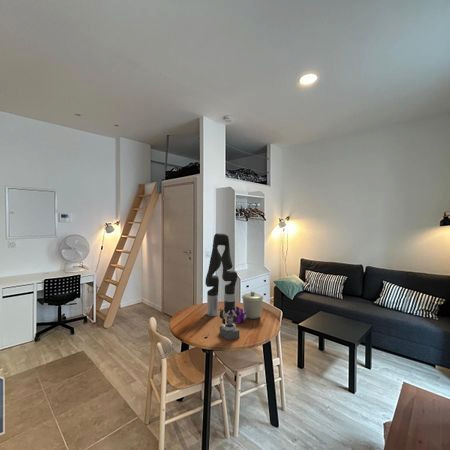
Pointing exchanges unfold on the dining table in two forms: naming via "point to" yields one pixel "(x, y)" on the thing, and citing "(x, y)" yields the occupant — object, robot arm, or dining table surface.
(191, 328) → the dining table surface
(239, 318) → the toy camera
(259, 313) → the canister
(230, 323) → the lens
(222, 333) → the camera body
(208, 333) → the dining table surface
